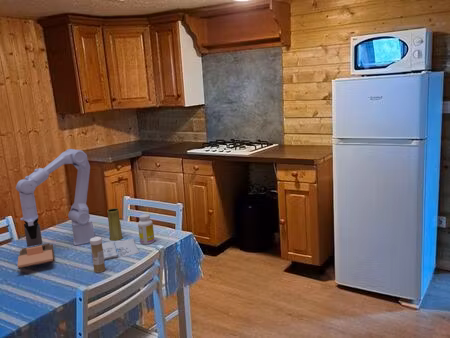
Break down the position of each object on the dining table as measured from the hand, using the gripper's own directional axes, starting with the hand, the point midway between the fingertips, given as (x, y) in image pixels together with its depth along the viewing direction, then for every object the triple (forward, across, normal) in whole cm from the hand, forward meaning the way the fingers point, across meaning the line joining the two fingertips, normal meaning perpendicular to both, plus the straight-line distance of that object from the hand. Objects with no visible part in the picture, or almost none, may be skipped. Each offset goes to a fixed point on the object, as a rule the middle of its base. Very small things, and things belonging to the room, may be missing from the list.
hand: (33, 236), depth 185 cm
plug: (+3, 0, 0) cm, 3 cm away
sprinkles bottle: (+9, +30, +23) cm, 39 cm away
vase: (+9, -3, +35) cm, 36 cm away
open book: (+10, +12, +32) cm, 36 cm away
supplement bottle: (+9, +10, +47) cm, 49 cm away
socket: (+9, 0, 0) cm, 9 cm away
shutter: (+5, +13, 0) cm, 14 cm away
